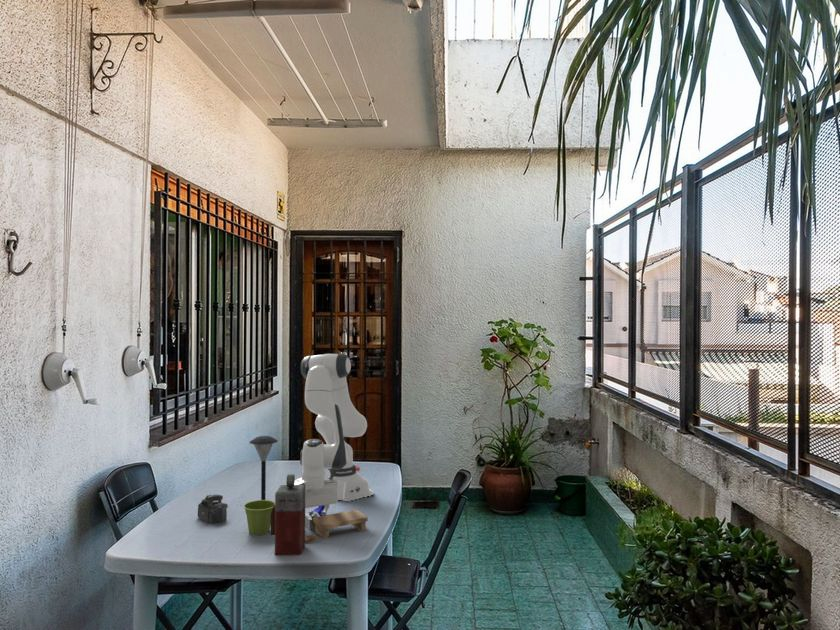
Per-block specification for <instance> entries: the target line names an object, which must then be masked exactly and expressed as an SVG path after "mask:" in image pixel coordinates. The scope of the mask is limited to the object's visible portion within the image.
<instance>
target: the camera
mask: <svg viewBox="0 0 840 630" xmlns="http://www.w3.org/2000/svg"><path fill="white" fill-rule="evenodd" d="M223 497H224V496H223V495H221V494H207V495H205V498H204V499H201V502H200V503H198V504H197V518H198V519H200V520H202V521H204V522H207V523H210V524H220V523H224V522H227V518H228V517H227V516H228V515H227V514H228V513H227V512H228V511H227V509H228V507H229V506H228V503H225V502H222V501H223V499H224V498H223Z"/></svg>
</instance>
